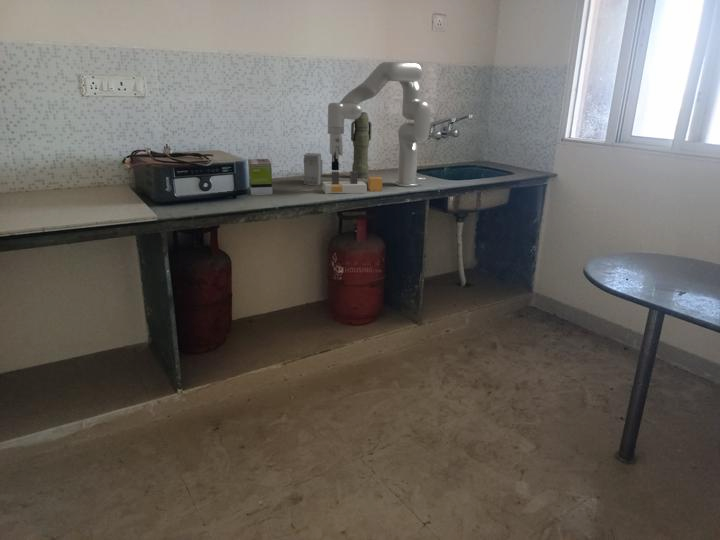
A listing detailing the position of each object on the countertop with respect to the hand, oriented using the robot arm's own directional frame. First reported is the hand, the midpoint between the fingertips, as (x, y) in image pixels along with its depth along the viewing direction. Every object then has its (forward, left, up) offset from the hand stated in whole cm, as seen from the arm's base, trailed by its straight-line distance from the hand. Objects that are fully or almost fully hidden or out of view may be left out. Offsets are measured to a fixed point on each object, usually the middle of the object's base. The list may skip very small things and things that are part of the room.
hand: (335, 169), depth 251 cm
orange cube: (-21, -3, -11) cm, 23 cm away
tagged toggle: (0, 0, -8) cm, 8 cm away
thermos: (-21, -39, -11) cm, 45 cm away
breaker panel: (-5, 0, -11) cm, 11 cm away
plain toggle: (-9, 0, -8) cm, 12 cm away
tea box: (+35, -2, -11) cm, 37 cm away
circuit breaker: (+7, -25, -11) cm, 28 cm away
